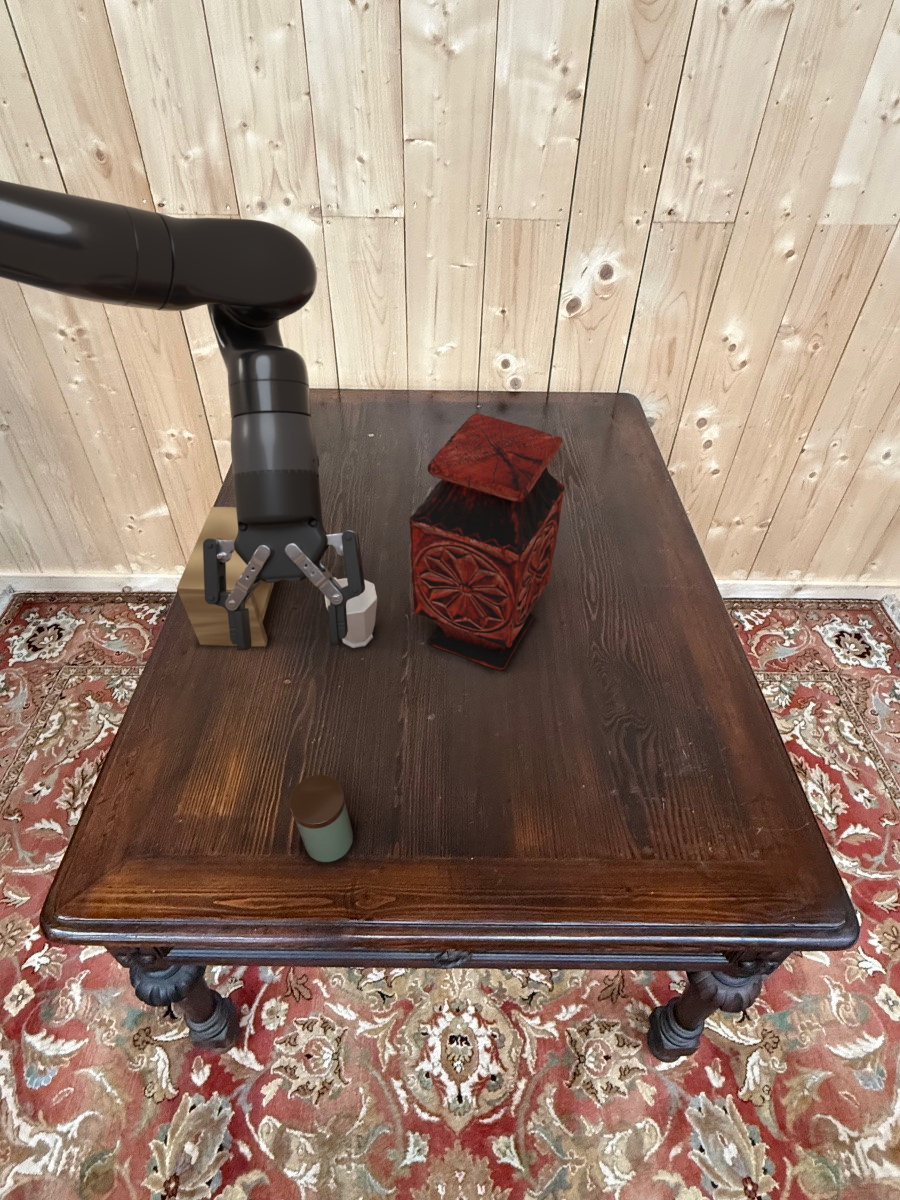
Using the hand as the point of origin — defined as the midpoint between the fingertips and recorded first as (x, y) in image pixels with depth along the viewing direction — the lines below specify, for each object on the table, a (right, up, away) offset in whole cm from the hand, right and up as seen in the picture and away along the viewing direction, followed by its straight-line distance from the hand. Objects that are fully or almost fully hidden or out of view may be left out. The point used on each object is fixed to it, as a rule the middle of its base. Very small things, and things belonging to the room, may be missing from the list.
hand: (290, 646), depth 64 cm
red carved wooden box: (+19, 0, +31) cm, 36 cm away
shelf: (-14, +4, +35) cm, 38 cm away
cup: (+1, 0, +31) cm, 31 cm away
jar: (+2, -21, +10) cm, 24 cm away
